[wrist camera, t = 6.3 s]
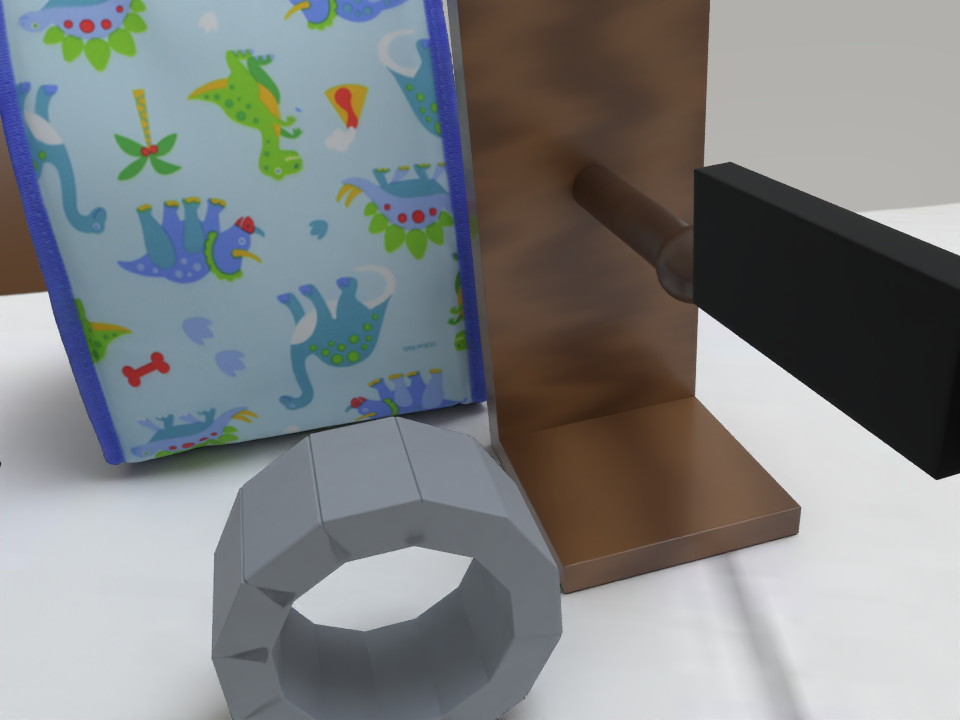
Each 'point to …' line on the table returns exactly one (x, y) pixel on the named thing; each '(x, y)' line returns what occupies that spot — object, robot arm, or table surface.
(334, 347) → the lunch bag
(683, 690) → the table surface
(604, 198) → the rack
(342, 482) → the tape
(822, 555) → the table surface
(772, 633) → the table surface
